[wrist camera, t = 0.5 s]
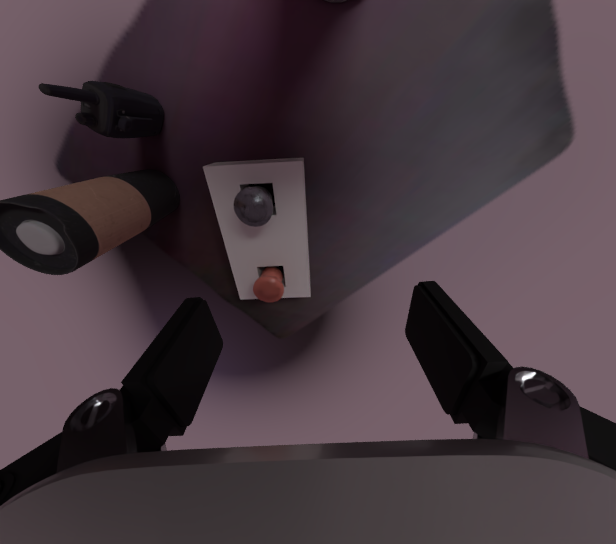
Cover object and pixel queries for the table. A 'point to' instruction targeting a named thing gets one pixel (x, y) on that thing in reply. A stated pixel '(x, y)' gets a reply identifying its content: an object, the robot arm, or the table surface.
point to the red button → (269, 285)
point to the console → (271, 236)
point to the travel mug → (83, 219)
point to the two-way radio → (113, 109)
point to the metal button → (254, 206)
